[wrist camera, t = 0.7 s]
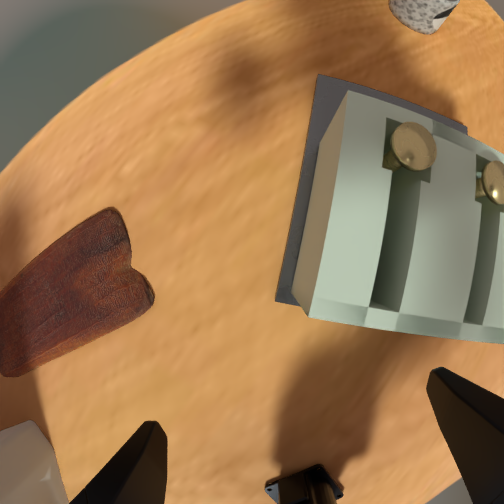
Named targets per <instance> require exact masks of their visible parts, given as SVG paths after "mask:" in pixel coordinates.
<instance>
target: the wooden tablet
mask: <svg viewBox="0 0 504 504" xmlns="http://www.w3.org/2000/svg"><path fill="white" fill-rule="evenodd" d="M131 253H132V251H131V245H130V240H129V237H128V235H127V232H126V229H125V227H124V224H123V222H122V220H121V218H120V216H119V214H118V213H116V212H114V211H112V210H106V211H103V212H101V213H99V214H97V215H96V216H94V217H92V218H90V219H88V220H87V221H85V222H83V223H82V224H80V225H78V226H77V227H76V228H74V229H73V230H71V231H70V232H68V233H67V234H66V235H64V236H63V237H62V238H60V239H59V240H58V241H56V242H55V243H53V244H52V245H51V246H49V247H48V248H47V249H46V250H45V251H43V252H42V253H41V254H40V255H39V256H38V257H36V258H35V259H34V260H33V261H31V262H30V263H29V264H28V265H27V266H26V267H25V268H24V269H23V270H22V271H21V272H20V273H19V274H18V275H17V276H16V277H15V278H14V279H13V280H12V281H11V282H10V283H9V284H8V285H7V286H6V287H5V288H4V289H3V290H2V291H1V292H0V373H1V374H2V375H3V376H5V377H18V376H21V375H23V374H25V373H27V372H29V371H30V370H32V369H34V368H37V367H39V366H41V365H42V364H45V363H46V362H49V361H51V360H53V359H55V358H58V357H60V356H62V355H64V354H66V353H68V352H71V351H73V350H75V349H78V348H80V347H82V346H83V345H85V344H87V343H90V342H92V341H94V340H95V339H97V338H99V337H101V336H104V335H105V334H107V333H110V332H112V331H114V330H116V329H118V328H120V327H122V326H124V325H126V324H128V323H129V322H131V321H133V320H135V319H136V318H138V317H140V316H141V315H142V314H144V313H145V312H146V311H147V310H148V309H150V308H151V306H152V305H153V302H154V296H153V294H152V292H151V290H150V288H149V286H148V285H147V283H146V281H145V280H144V278H143V276H142V275H141V274H140V273H139V272H138V271H137V270H135V269H133V268H132V267H131V258H132V255H131Z"/></svg>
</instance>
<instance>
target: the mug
mask: <svg viewBox="0 0 504 504" xmlns="http://www.w3.org/2000/svg"><path fill="white" fill-rule="evenodd" d="M459 1H460V0H390V1H389V8H390V10H391V12H392V14H393V15H394V16H395V17H396V18H397V19H398V20H399V21H400V22H401V23H402V24H404V25H405V26H407V27H408V28H410V29H412V30H414V31H416V32H419V33H422V34H433V33H435V32H436V31H437V30H438V28H439V27H440V26H441V25H442V23H443V22H444V21H445V19H446V18H447V17H448V16H449V14H450V13H451V12H452V10H453V9H454V8H455V7H456V5H457V4H458V3H459Z"/></svg>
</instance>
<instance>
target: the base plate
mask: <svg viewBox="0 0 504 504" xmlns="http://www.w3.org/2000/svg"><path fill="white" fill-rule="evenodd" d="M348 90H350V91H353V92H357V93H360V94H363V95H367V96H370V97H373V98H376V99H379V100H382V101H385V102H388V103H391V104H394V105H397V106H400V107H402V108H405V109H408V110H410V111H413V112H416V113H418V114H421V115H423V116H426V117H428V118H430V119H433V120H435V121H438V122H440V123H442V124H444V125H447V126H449V127H451V128H453V129H455V130H458V131H460V132H462V133H464V134H466V135H468V134H467V127H466V126H464V125H462V124H460V123H458V122H456V121H453V120H451V119H449V118H447V117H445V116H443V115H440V114H438V113H436V112H433V111H431V110H429V109H426V108H424V107H421V106H419V105H416V104H414V103H411V102H409V101H406V100H403V99H401V98H398V97H395V96H392V95H389V94H386V93H383V92H381V91H377V90H374V89H371V88H368V87H365V86H362V85H358V84H355V83H351V82H348V81H344V80H340V79H337V78H333V77H329V76H325V75H321V74H318V77H317V82H316V88H315V94H314V100H313V106H312V112H311V118H310V124H309V130H308V135H307V141H306V147H305V152H304V158H303V163H302V168H301V174H300V179H299V184H298V190H297V195H296V200H295V205H294V210H293V215H292V220H291V225H290V230H289V235H288V240H287V245H286V250H285V255H284V259H283V264H282V269H281V274H280V278H279V283H278V287H277V292H276V297H275V302H280V303H286V304H291V305H296V306H300V304H299V303H298V302H297V300H296V299H295V297H294V296H293V294H292V293H291V289H292V285H293V280H294V275H295V271H296V266H297V261H298V257H299V252H300V247H301V242H302V237H303V232H304V227H305V222H306V217H307V212H308V206H309V201H310V196H311V190H312V185H313V179H314V173H315V168H316V162H317V156H318V150H319V144H320V142H321V140H322V138H323V136H324V134H325V132H326V130H327V129H328V127H329V125H330V123H331V121H332V119H333V117H334V115H335V114H336V112H337V110H338V108H339V106H340V104H341V102H342V100H343V99H344V97H345V95H346V93H347V91H348ZM390 147H391V150H390V151H389V152H387V153H386V154H385V155H383V162H382V168H385V169H388V170H391V171H392V173H393V172H395V171H396V170H398V169H400V168H401V167H404V168H405V169H407V170H409V171H413V172H419V171H422V170H425V169H427V168H428V167H430V166H431V165H432V164H433V163H434V162H435V160H436V156H437V147H436V143H435V140H434V138H433V136H432V135H431V133H430V132H429V131H428V130H427V129H426V128H425V127H424V126H422V125H421V124H418V123H416V122H404V123H402V124H401V125H399V126H398V127H397V128H396V129H395V130H394V131H393V133H392V135H391V138H390ZM484 196H487V198H488V199H489V200H490V201H491V202H492V203H494V204H496V205H501V204H504V164H503V163H502V162H500V161H497V160H495V161H492V162H489V163H487V164H485V166H484V167H483V169H482V173H481V178H478V179H476V190H475V199H476V198H480V197H484Z"/></svg>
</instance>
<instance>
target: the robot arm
mask: <svg viewBox="0 0 504 504" xmlns="http://www.w3.org/2000/svg"><path fill="white" fill-rule="evenodd" d="M426 390H427V394H428V397H429V399H430V402H431V405H432V408H433V410H434V413H435V416H436V419H437V422H438V425H439V427H440V429H441V432H442V434H443V436H444V438H445V440H446V442H447V444H448V447H449V449H450V451H451V453H452V455H453V457H454V460H455V462H456V464H457V466H458V469H459V471H460V473H461V476H462V478H463V480H464V483H465V485H466V487H467V490H468V492H469V495H470V497H471V500H472V502H473V504H504V399H503V398H501V397H499V396H498V395H496V394H494V393H492V392H490V391H488V390H486V389H484V388H482V387H480V386H478V385H476V384H474V383H473V382H471V381H469V380H467V379H465V378H463V377H461V376H459V375H457V374H455V373H453V372H452V371H450V370H448V369H446V368H444V367H438V368H436V369H433V370H431V372H430V375H429V379H428V383H427V387H426ZM318 468H320V469H318ZM166 484H167V436H166V434H165V432H164V430H163V429H162V427H161V426H160V424H159V423H158V422H157V421H145V422H144V423H143V424H142V425H141V426H140V427H139V428H138V429H137V431H136V432H135V433H134V434H133V435H132V436H131V437H130V438H129V439H128V441H127V442H126V443H125V444H124V445H123V446H122V447H121V448H120V450H119V451H118V452H117V453H116V454H115V455H114V456H113V457H112V458H111V459H110V461H109V462H108V463H107V464H106V465H105V466H104V467H103V468H102V469H101V470H100V471H99V473H98V474H97V475H96V476H95V477H94V478H93V479H92V480H91V481H90V482H89V483H88V484H87V485H86V487H85V488H84V489H83V490H82V491H81V492H80V493H79V494H78V495H77V496H76V497H75V498H74V499H73V500H72V501H71V502H70V503H69V504H164V501H165V492H166ZM268 488H271V489H268ZM265 492H266V493H267V494H268V495H269V496H270V497H271V498H272V499H273V500H274V501H275V502H276V503H277V504H337V503H336V500H337V499H340V498H342V497H343V492H342V490H341V489H340V488H339V487H338V485H337V484H336V483H335V481H334V480H333V479H332V477H331V476H330V475H329V473H328V472H327V471H326V469H325V468H324V467H323V465H321V464H317V465H315V466H313V467H310V468H308V469H306V470H304V471H301V472H299V473H296V474H294V475H292V476H289V477H287V478H284V479H281V480H279V481H276V482H274V483H271V484H268V485H266V486H265Z"/></svg>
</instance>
